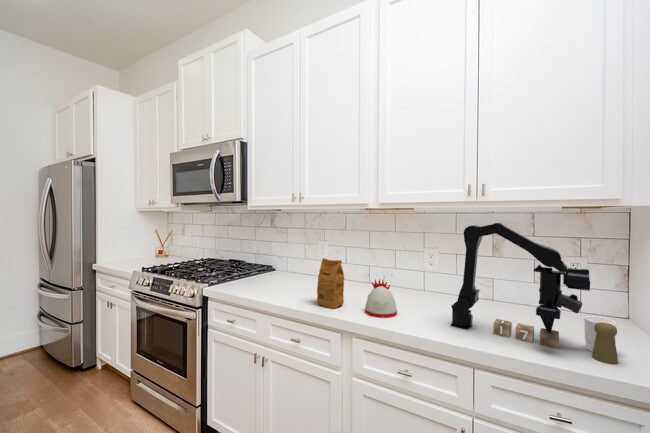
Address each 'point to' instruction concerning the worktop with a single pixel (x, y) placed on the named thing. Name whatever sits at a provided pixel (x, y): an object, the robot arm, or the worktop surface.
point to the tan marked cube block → (524, 333)
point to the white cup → (590, 331)
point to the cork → (605, 343)
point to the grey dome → (381, 302)
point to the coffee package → (330, 284)
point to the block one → (502, 328)
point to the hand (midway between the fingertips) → (549, 331)
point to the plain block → (549, 338)
